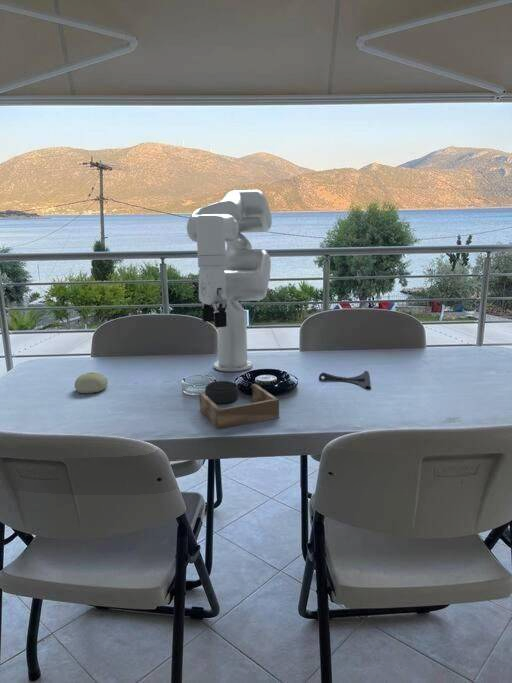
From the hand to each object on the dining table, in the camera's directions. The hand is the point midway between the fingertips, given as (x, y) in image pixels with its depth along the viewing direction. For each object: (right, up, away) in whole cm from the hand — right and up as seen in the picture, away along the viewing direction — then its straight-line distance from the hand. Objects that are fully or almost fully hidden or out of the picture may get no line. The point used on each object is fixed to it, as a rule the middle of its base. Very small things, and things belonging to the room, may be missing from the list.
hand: (214, 323), depth 134 cm
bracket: (+38, -17, +10) cm, 43 cm away
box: (+7, -23, -14) cm, 28 cm away
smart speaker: (+2, -21, -4) cm, 21 cm away
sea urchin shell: (-36, -19, +6) cm, 41 cm away
